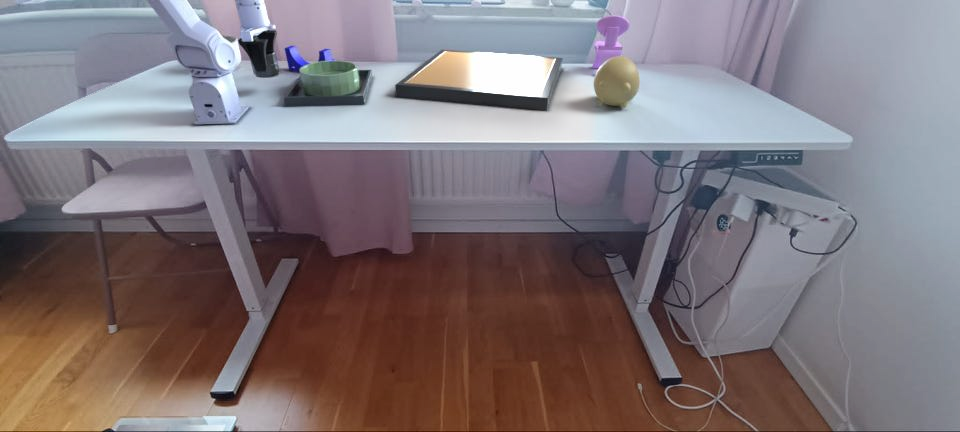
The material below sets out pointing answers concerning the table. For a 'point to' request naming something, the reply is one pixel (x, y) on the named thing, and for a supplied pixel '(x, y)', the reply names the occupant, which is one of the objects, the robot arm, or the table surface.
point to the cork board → (484, 79)
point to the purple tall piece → (609, 38)
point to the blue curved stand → (297, 61)
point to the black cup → (268, 66)
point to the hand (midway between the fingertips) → (265, 67)
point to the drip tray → (302, 99)
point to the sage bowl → (330, 78)
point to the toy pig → (616, 82)
